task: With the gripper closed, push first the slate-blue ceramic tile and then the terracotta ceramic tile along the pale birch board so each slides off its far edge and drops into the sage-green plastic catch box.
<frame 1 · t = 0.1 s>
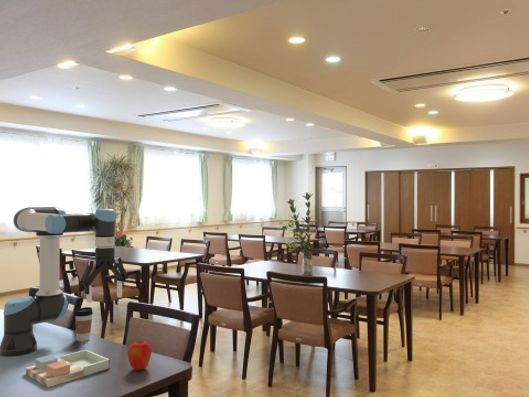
hand: (104, 299, 186), 28 cm above the table, fingers open, 13 cm apart
tile terracotta: (58, 372, 175), point 2 cm above the table, touching bench plate
apple: (139, 370, 185), on the table
catch box: (85, 366, 188), on the table
coffee cup: (83, 340, 224), on the table
bench plate: (54, 375, 178), on the table
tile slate: (46, 366, 181), point 2 cm above the table, touching bench plate
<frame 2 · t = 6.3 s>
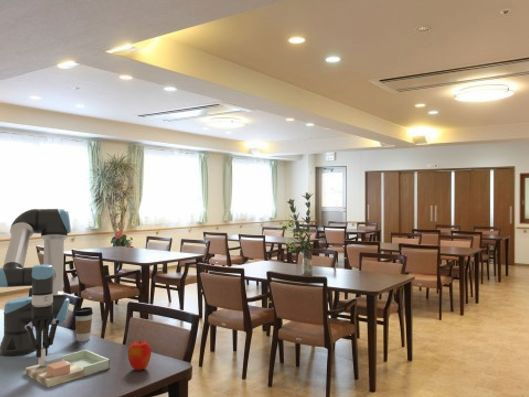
hand: (41, 364, 180), 4 cm above the table, fingers closed
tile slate: (51, 365, 182), point 3 cm above the table
everything else where it was.
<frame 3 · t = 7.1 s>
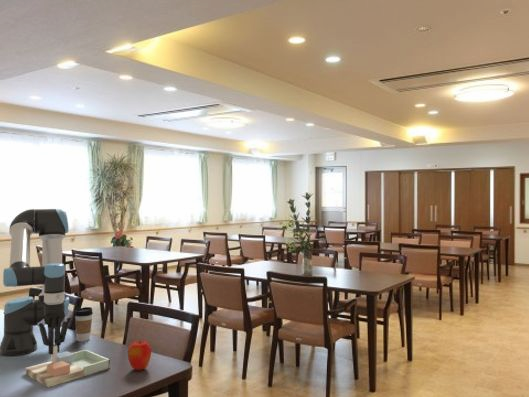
hand: (53, 361, 183), 4 cm above the table, fingers closed
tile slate: (63, 361, 186), point 2 cm above the table, touching bench plate, gripper
everything else where it was.
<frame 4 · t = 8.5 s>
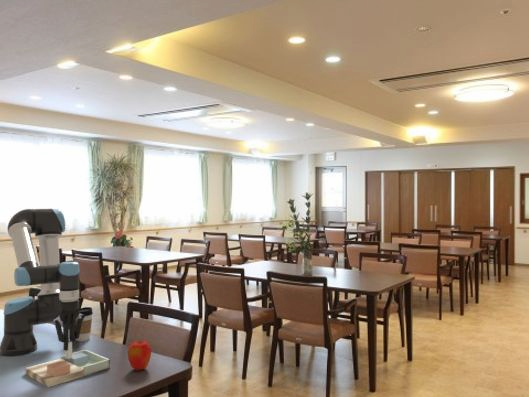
hand: (68, 357, 188), 4 cm above the table, fingers closed
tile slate: (77, 362, 191), resting on catch box, touching gripper
everything else where it was.
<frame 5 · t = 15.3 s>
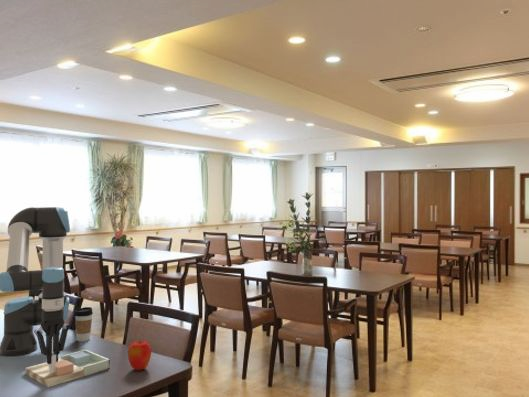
hand: (52, 371, 173), 4 cm above the table, fingers closed
tile terracotta: (62, 371, 175), point 3 cm above the table, touching bench plate
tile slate: (79, 362, 191), resting on catch box
everything else where it was.
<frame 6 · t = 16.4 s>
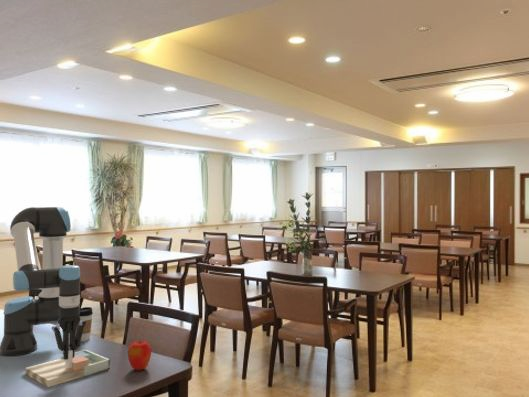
hand: (68, 366, 178), 4 cm above the table, fingers closed
tile terracotta: (78, 367, 180), point 3 cm above the table, touching gripper
everything else where it was.
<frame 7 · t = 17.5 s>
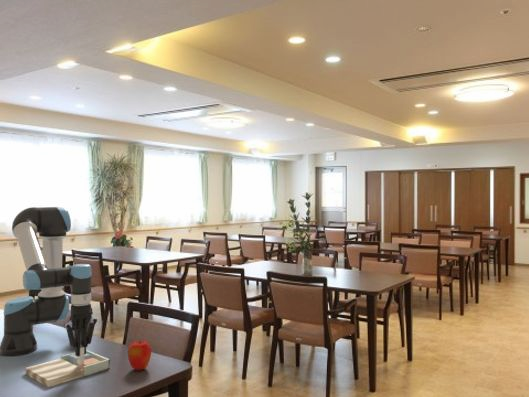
hand: (80, 363, 181), 4 cm above the table, fingers closed
tile terracotta: (89, 368, 184), resting on catch box, touching gripper
everything else where it was.
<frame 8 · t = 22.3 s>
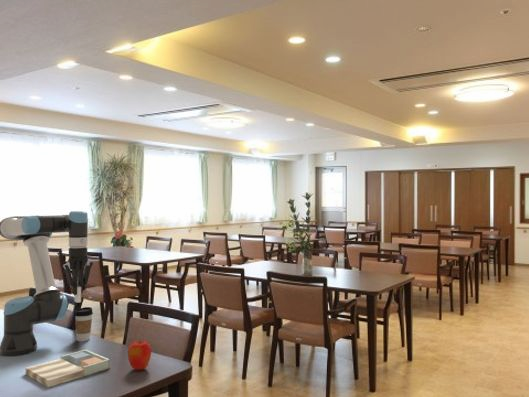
hand: (77, 301, 197), 24 cm above the table, fingers closed
tile terracotta: (92, 368, 185), resting on catch box
everything else where it was.
at the end: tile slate inside the target area (4.8 cm from its centre), point 0.5 cm above the table; tile terracotta inside the target area (5.3 cm from its centre), point 0.5 cm above the table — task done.
